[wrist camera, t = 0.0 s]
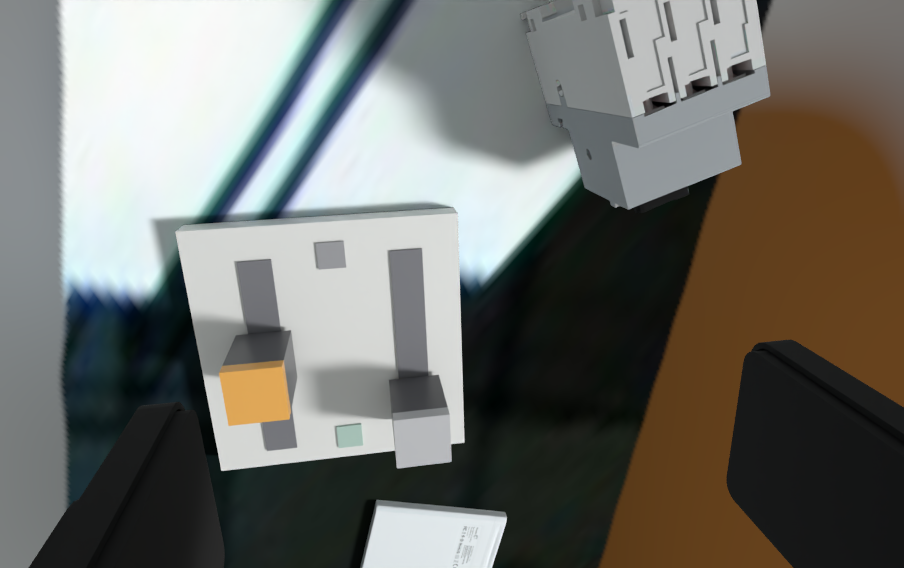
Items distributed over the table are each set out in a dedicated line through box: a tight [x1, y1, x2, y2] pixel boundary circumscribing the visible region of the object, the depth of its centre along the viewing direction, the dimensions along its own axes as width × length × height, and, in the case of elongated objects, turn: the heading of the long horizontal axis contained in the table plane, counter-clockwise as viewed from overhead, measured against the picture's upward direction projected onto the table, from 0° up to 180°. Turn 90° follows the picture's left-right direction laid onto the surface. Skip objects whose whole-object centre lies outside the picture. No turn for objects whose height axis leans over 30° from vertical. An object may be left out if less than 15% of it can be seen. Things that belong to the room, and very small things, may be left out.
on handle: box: [389, 375, 452, 468], centre depth 46 cm, size 4×4×6 cm
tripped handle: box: [219, 330, 297, 426], centre depth 43 cm, size 4×4×6 cm
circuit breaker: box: [520, 0, 770, 213], centre depth 38 cm, size 8×14×15 cm, turn 20°
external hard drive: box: [360, 500, 507, 568], centre depth 57 cm, size 2×8×12 cm
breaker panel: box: [175, 207, 464, 471], centre depth 47 cm, size 20×20×2 cm
